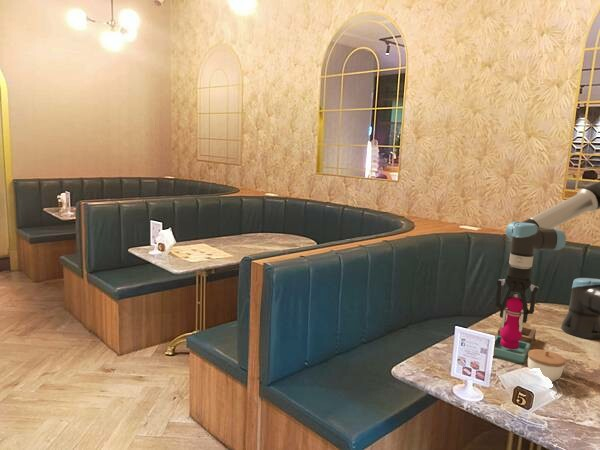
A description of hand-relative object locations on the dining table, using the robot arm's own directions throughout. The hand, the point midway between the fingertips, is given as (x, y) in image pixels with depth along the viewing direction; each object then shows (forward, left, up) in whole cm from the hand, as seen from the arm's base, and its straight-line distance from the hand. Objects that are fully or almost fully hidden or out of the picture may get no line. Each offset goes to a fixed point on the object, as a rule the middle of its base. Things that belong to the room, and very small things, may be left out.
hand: (511, 328), depth 170 cm
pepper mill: (0, 0, -7) cm, 7 cm away
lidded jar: (-13, +14, -10) cm, 21 cm away
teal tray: (0, 0, -9) cm, 9 cm away
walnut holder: (0, -16, -9) cm, 19 cm away
